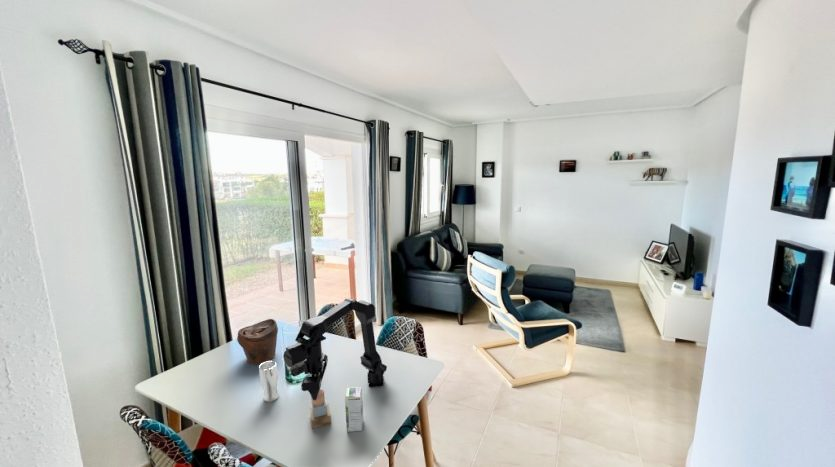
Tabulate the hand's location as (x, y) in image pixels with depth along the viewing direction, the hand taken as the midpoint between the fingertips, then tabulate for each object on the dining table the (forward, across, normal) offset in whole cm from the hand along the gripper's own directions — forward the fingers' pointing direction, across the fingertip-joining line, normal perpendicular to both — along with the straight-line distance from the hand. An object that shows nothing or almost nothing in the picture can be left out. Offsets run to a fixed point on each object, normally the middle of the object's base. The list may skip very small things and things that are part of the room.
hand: (317, 391), depth 132 cm
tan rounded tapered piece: (+5, 0, 0) cm, 5 cm away
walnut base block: (+13, 0, 0) cm, 13 cm away
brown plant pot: (+13, -48, -38) cm, 63 cm away
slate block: (+9, 0, 0) cm, 9 cm away
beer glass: (+13, -16, -23) cm, 31 cm away
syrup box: (+13, +4, +14) cm, 19 cm away
